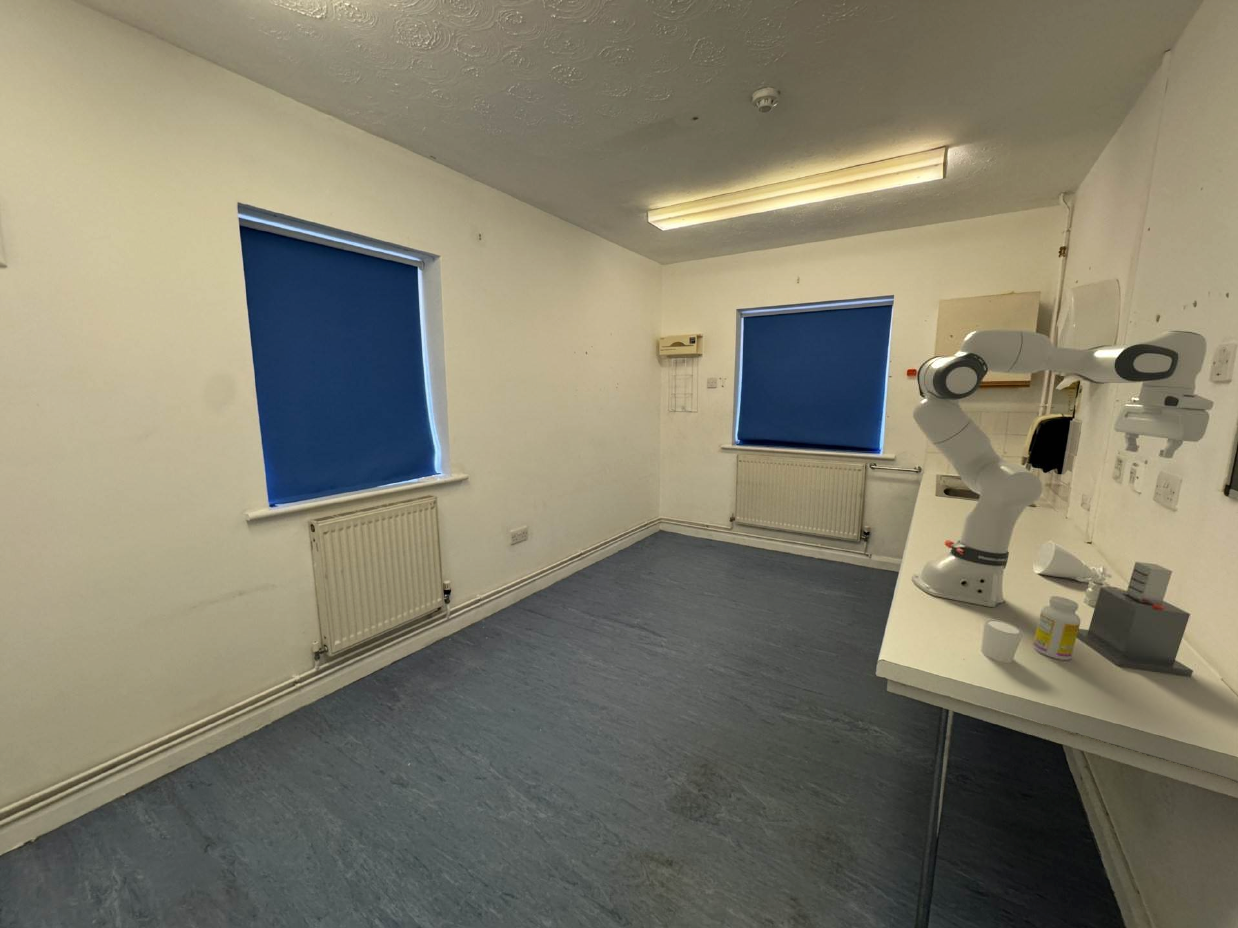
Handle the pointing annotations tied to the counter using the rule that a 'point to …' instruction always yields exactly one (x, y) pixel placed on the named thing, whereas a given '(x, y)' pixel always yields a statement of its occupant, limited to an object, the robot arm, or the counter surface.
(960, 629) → the counter surface
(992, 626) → the white cup
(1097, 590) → the valve
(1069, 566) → the rocket engine
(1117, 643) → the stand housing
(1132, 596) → the column
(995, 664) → the counter surface
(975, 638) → the counter surface
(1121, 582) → the counter surface
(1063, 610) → the supplement bottle
